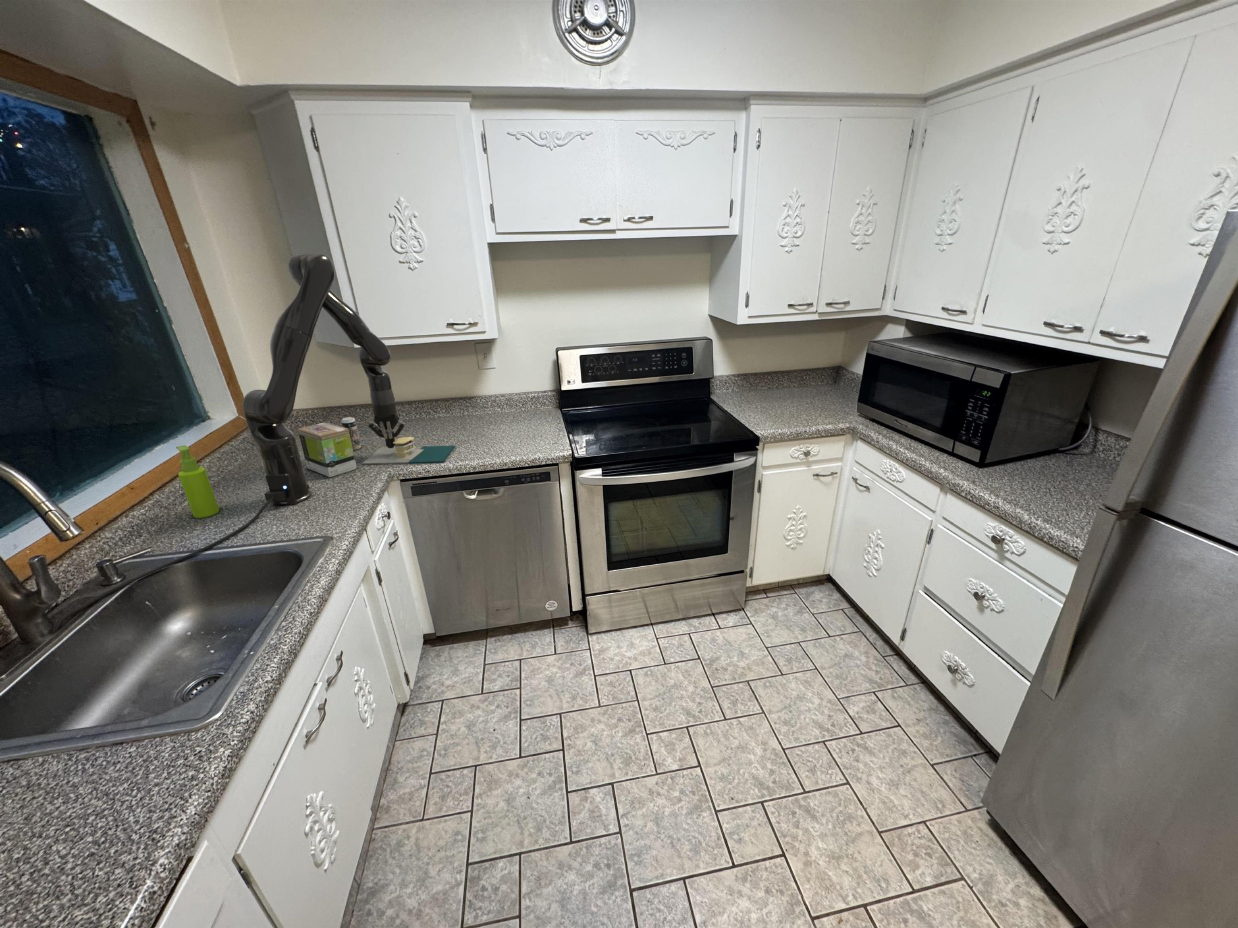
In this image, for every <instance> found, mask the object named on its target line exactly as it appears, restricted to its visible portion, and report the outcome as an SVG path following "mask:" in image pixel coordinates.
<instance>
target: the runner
mask: <svg viewBox="0 0 1238 928" xmlns="http://www.w3.org/2000/svg"><path fill="white" fill-rule="evenodd" d="M454 448H455V445H427V446H426V445H424V446H423V445H422V446H421V445H420V446H416V448H414V449H421V450H423V451H422V452H420V453H419V454H418V455H417V456H415V457H414V458H413V459H388V458H390V457H391V456H392V455H394V454H395V451H396V449H395V447H393V448H388V447H387V446H386V447H385V446H384V447H383V446H382V447H379V448H378V449H377V450H375V451H374V452H373V453H372V454H370V456H369V457H367V458H366V459H365V460H364V461H363V462H362V463H361V464H362V465H363V466H367V465H368V466H370V465H399V464H400V465H404V464H406V465H407V464H408V465H409V464H442V463H445V461H446V459H447V458H448V457H449V455H450V454H451V453H452V451H453V450H454Z"/></svg>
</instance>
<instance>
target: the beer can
mask: <svg viewBox="0 0 1238 928" xmlns="http://www.w3.org/2000/svg"><path fill="white" fill-rule="evenodd" d="M341 427H344V428H348V430H349V434H350V439H351V443H352V448H353V451H357V450H359V449H361V447H362V444H361V443H362V442H361V440H360V439H361V438H360V435H359V430H358V425H357V420H356V419H355V417H353V416H347V417H343V418H342V419H341Z"/></svg>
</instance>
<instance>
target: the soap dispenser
mask: <svg viewBox="0 0 1238 928" xmlns="http://www.w3.org/2000/svg"><path fill="white" fill-rule="evenodd" d="M175 449H177V450H178V451H179V452H180V455H181V457H182V458H181V459H180V460H179V463H180V465H181V469H182V470H181V471H179V472H178V473H177V476H178V478H179V481H180V484H181V486H182V489H183V492H184V494H185V497H186V499H187V502H188V505H189V508H190V510H191V511H190V512H191V513H192V517H193V518H196V519H204V518H208V517H211V516H214V515H217V514H218V513H219V512H220V507H219V505H218V502H217V499H216V496H215V493H214V490H213V487H212V485H211V482H210V478H209V477H208V474H207V470H206V468H205V467H203V466H199V465H198V462H197V459H196V457H195V456H191V453H190V451H191V450H190V447H188V446H187V445H186V444H183V445H179V446H176V447H175Z"/></svg>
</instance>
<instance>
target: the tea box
mask: <svg viewBox="0 0 1238 928" xmlns="http://www.w3.org/2000/svg"><path fill="white" fill-rule="evenodd" d="M297 432H298V437H299V441H300V444H301V445H300V446H301V448H302V452H303V457H304V460H305V464H306V468H307V469H309V470H311V471H313V472H315V473H318V474H320V475H323V476H326V477H328V478H332V477H335V476H339V475H343V474H345V473H348V472H351V471H353V470H357V463H356V458H355V454H354V450H353V448H352V443H351V439H350V434H349V430H348V428H344V427H343V426H342V425H341V426H340V425H337V424H333V423H330V422H327V421H324V422H321V423H316V424H313V425H307V426H304V427H300V428H297Z"/></svg>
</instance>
